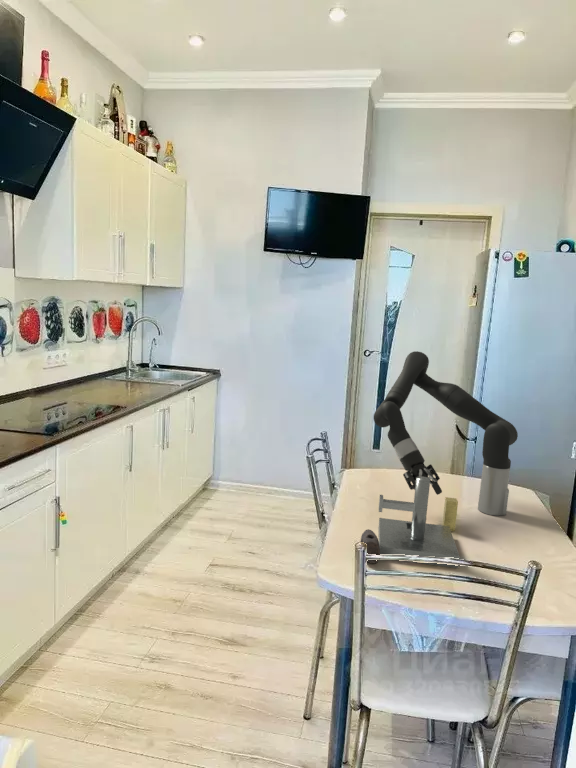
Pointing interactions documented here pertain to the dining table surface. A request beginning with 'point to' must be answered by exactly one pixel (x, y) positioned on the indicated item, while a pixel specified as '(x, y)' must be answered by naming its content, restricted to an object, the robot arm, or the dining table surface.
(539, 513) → the dining table surface
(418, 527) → the rosette post
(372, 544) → the perforated stone tool
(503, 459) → the robot arm
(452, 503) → the yellow rectangular block
